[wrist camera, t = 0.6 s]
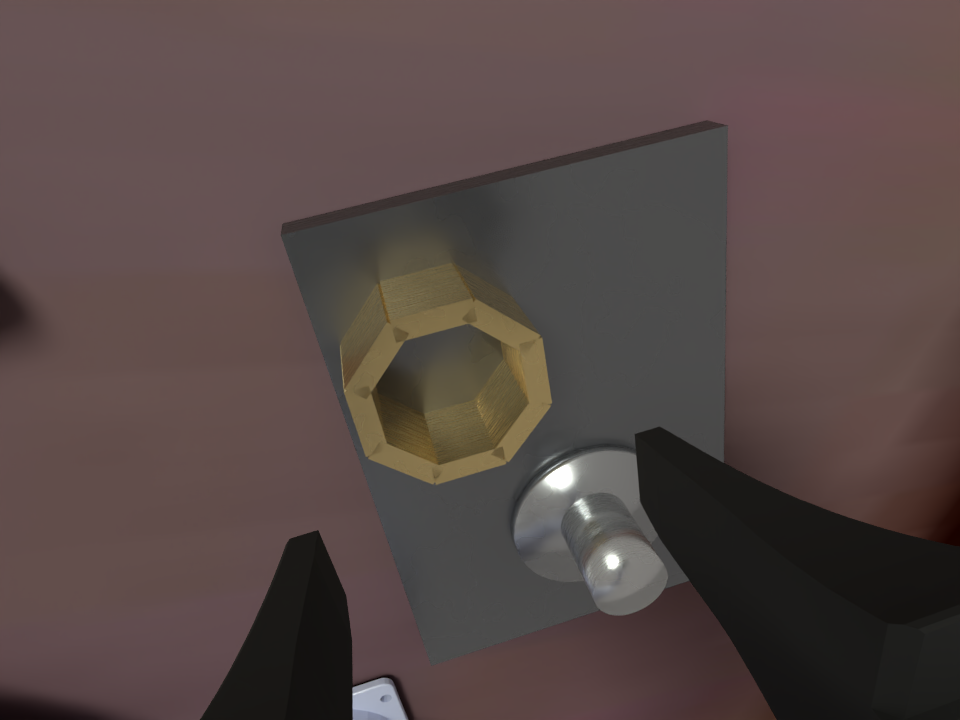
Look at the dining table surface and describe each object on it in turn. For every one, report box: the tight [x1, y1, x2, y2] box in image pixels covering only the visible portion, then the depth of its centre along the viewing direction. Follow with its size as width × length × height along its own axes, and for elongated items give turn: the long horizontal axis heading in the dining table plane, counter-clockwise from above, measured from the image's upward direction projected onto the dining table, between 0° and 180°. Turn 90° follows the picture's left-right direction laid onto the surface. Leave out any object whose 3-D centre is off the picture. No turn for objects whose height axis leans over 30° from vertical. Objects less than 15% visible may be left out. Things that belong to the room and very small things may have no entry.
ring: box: [340, 263, 552, 485], centre depth 20 cm, size 6×6×3 cm
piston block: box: [281, 121, 728, 666], centre depth 23 cm, size 20×14×5 cm
